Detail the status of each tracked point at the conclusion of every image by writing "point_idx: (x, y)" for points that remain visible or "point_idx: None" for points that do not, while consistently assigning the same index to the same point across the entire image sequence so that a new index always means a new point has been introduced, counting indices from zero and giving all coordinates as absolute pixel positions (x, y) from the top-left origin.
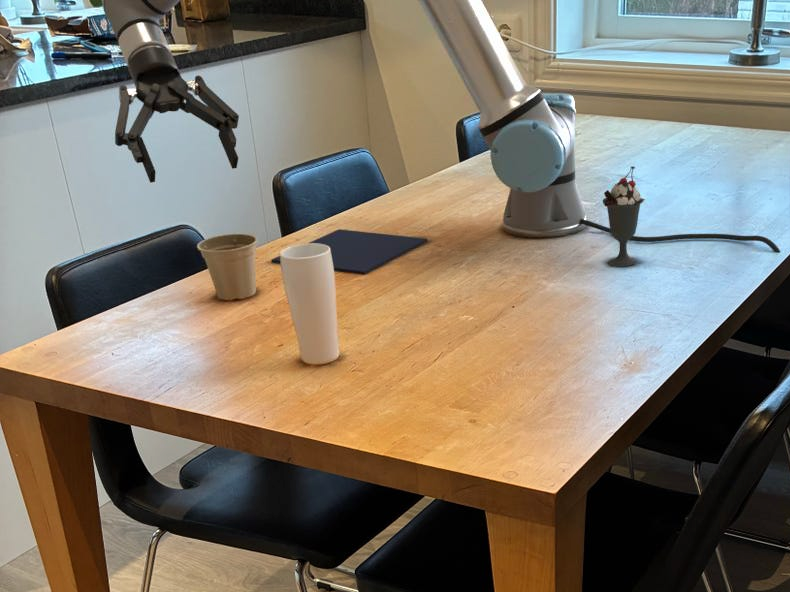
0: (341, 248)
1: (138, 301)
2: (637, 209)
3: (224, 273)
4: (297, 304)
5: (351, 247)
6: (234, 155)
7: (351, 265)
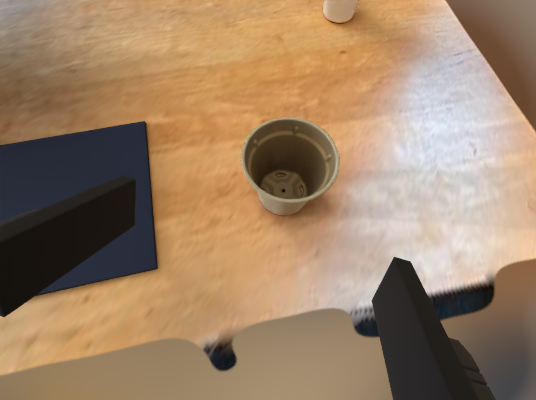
0: None
1: None
2: None
3: (312, 158)
4: None
5: None
6: (123, 181)
7: (130, 149)
